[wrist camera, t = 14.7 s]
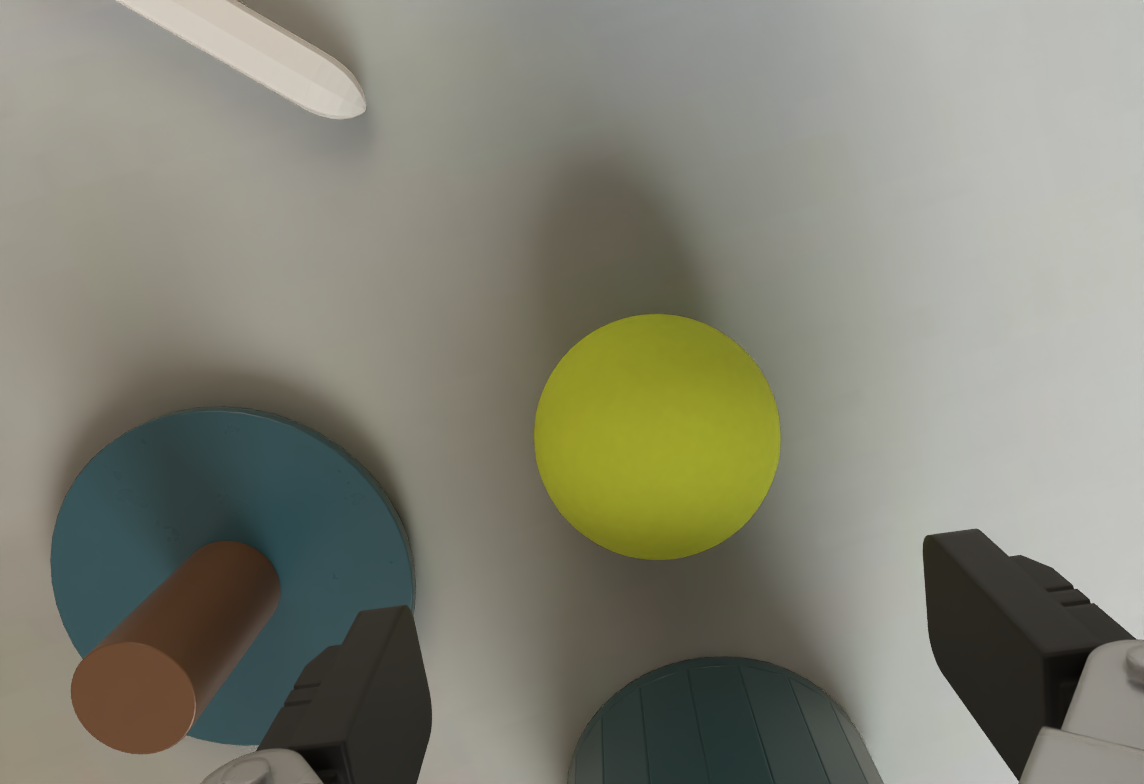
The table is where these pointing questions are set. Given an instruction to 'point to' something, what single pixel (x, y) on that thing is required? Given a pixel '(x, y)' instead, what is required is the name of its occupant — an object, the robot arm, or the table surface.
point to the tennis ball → (657, 436)
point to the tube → (721, 730)
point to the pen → (260, 52)
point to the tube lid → (215, 572)
